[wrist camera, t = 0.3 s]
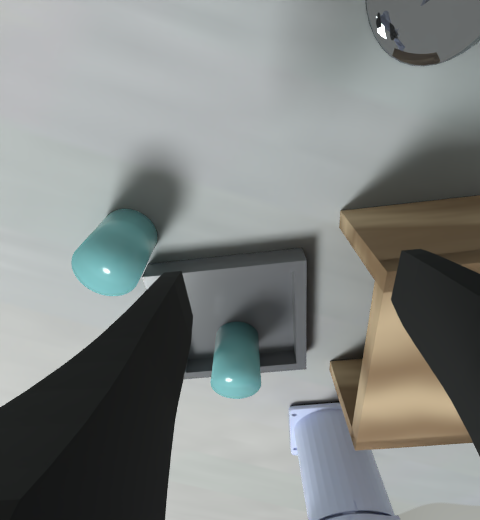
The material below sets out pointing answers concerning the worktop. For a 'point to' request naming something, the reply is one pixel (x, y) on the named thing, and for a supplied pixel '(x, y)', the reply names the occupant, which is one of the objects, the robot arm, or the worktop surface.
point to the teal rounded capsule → (115, 253)
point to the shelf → (392, 331)
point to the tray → (245, 304)
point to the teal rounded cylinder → (236, 361)
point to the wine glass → (424, 28)
